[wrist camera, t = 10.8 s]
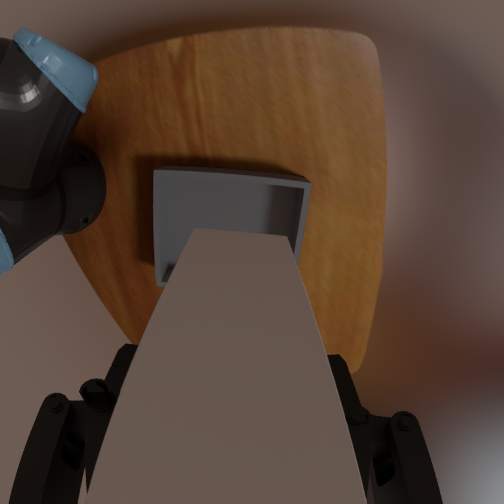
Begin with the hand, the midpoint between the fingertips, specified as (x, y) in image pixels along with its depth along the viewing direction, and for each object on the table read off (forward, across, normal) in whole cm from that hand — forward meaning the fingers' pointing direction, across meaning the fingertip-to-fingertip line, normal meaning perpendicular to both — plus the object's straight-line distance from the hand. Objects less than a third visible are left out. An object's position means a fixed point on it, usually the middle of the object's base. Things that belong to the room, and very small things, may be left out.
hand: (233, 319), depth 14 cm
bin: (+27, -2, -4) cm, 27 cm away
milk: (+5, 0, 0) cm, 5 cm away
